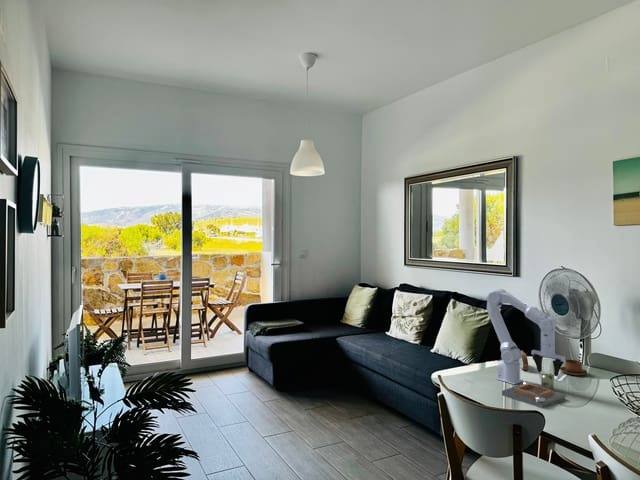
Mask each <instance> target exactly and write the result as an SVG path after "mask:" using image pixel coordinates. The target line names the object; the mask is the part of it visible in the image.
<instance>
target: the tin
mask: <svg viewBox="0 0 640 480" xmlns="http://www.w3.org/2000/svg"><path fill="white" fill-rule="evenodd" d="M520 351H521V353H522V357H521V358H520V359H519V362H520V369H521V370H522V371H528V370H529V361H528V360H529V359H528V357H527V353H525V352H524V351H523V350H520Z"/></svg>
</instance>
